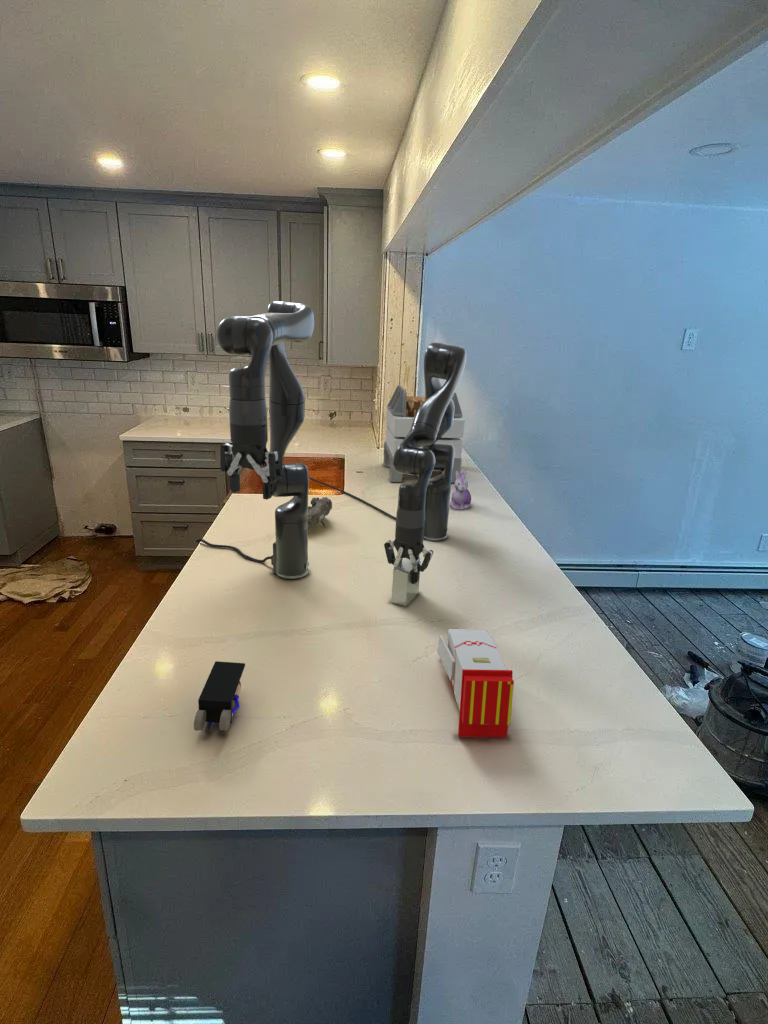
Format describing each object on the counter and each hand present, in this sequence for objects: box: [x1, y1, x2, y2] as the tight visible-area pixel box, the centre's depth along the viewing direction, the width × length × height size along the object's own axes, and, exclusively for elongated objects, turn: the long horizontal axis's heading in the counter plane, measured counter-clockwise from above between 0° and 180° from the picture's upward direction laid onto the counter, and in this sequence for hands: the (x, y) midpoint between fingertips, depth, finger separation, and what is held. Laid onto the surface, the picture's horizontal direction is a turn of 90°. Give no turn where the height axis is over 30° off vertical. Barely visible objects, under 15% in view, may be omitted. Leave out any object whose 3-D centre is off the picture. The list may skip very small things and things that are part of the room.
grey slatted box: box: [383, 384, 465, 484], centre depth 268 cm, size 34×33×41 cm
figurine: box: [450, 469, 472, 511], centre depth 228 cm, size 9×10×15 cm
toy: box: [437, 628, 515, 738], centre depth 117 cm, size 12×13×30 cm
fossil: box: [308, 496, 333, 533], centre depth 202 cm, size 22×10×15 cm
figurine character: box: [193, 660, 246, 736], centre depth 107 cm, size 7×8×15 cm
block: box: [391, 558, 422, 607], centre depth 154 cm, size 4×9×10 cm, turn 154°
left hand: (251, 495), depth 122 cm, fingers open, 8 cm apart
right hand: (406, 580), depth 154 cm, fingers closed on block, 4 cm apart
